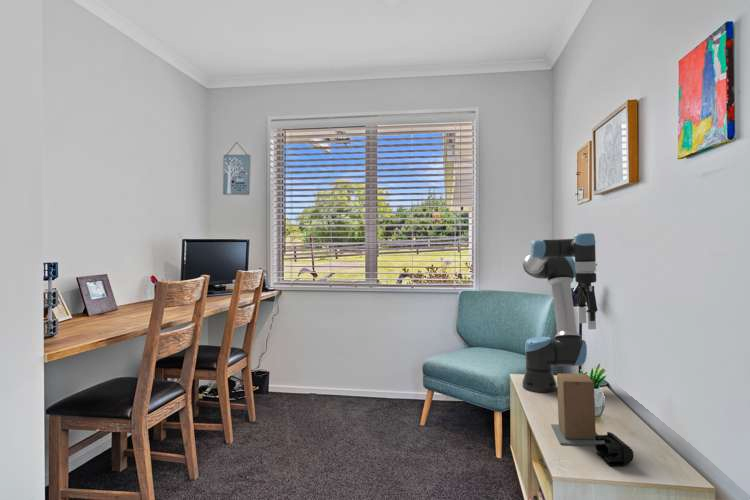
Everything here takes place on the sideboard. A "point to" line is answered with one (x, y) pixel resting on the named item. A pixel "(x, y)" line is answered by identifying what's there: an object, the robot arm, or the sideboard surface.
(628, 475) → the sideboard surface
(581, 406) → the wooden block
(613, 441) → the black rounded block
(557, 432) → the mat
